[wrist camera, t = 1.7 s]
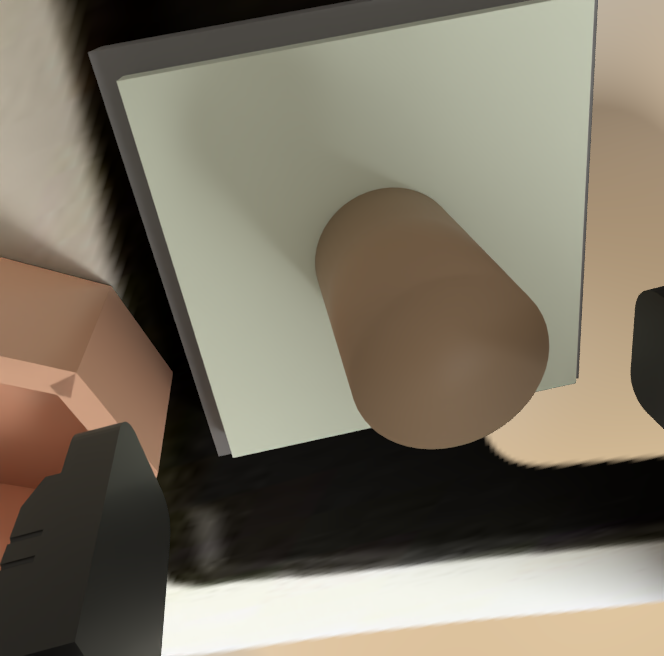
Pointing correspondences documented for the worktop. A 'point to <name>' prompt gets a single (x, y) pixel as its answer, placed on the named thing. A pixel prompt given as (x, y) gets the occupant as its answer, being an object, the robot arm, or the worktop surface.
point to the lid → (378, 222)
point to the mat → (233, 39)
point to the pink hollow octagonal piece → (68, 377)
